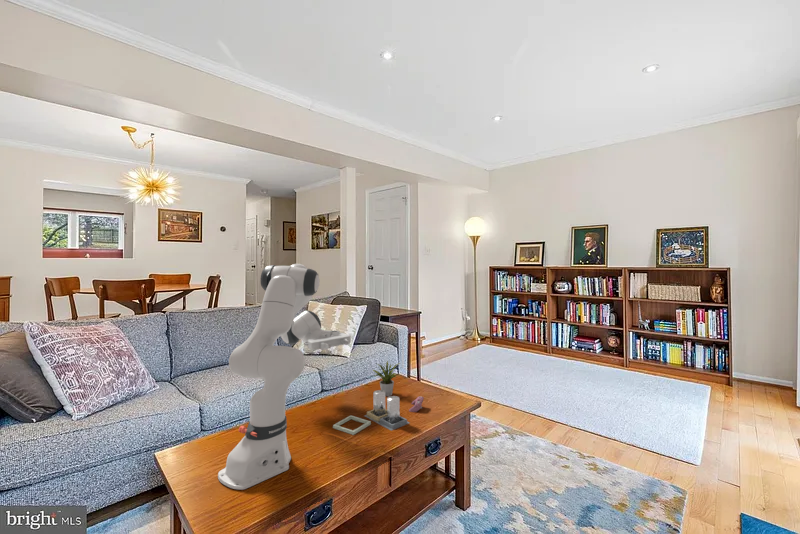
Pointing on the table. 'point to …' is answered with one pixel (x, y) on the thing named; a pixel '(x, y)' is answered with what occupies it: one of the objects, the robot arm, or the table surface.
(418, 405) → the video game controller
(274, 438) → the robot arm
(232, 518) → the table surface
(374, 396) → the steel billet
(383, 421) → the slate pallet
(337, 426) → the tray
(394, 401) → the cylinder
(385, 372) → the house plant
